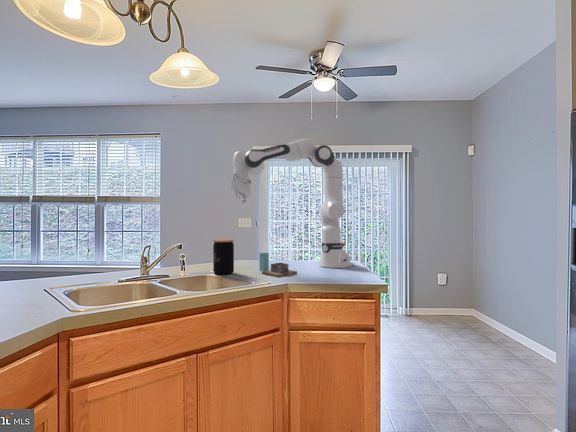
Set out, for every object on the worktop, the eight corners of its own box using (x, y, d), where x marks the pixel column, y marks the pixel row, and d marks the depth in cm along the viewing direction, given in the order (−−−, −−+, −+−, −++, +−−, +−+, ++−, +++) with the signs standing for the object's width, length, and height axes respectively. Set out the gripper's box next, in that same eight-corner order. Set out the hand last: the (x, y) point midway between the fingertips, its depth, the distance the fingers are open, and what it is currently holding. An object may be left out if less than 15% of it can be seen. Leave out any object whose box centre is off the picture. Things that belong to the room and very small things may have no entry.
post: (264, 269, 188) (264, 252, 188) (268, 270, 185) (268, 252, 185) (259, 270, 186) (259, 252, 185) (263, 271, 183) (263, 253, 183)
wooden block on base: (281, 270, 185) (281, 261, 185) (297, 273, 176) (297, 263, 176) (262, 273, 176) (262, 264, 176) (277, 277, 167) (277, 266, 167)
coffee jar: (212, 272, 181) (212, 239, 180) (232, 271, 184) (232, 238, 183) (214, 276, 170) (214, 240, 170) (235, 274, 174) (235, 240, 173)
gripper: (238, 171, 183) (238, 196, 180) (252, 182, 202) (252, 204, 199) (228, 173, 184) (228, 197, 181) (242, 183, 204) (242, 205, 201)
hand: (240, 201), depth 191 cm, fingers open, 8 cm apart
